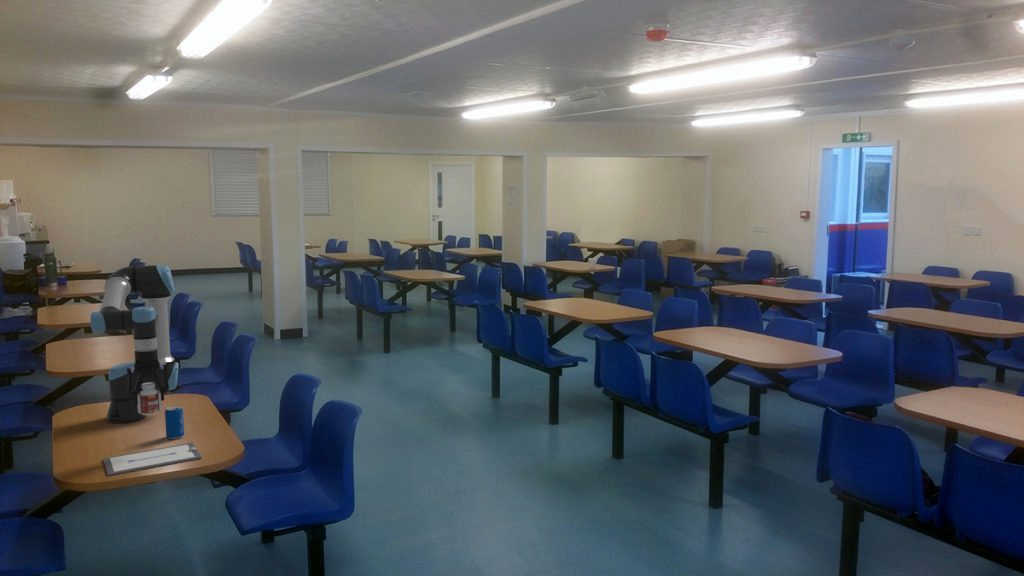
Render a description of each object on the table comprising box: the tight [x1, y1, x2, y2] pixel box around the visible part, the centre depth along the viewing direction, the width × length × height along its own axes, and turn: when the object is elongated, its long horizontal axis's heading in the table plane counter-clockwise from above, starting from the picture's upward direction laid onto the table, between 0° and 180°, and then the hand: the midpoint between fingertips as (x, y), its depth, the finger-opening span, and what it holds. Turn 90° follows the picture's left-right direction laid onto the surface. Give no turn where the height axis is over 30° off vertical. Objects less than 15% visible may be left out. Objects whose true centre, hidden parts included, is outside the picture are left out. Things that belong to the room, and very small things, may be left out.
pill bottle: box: [139, 383, 160, 416], centre depth 270 cm, size 6×6×11 cm
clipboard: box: [102, 442, 203, 477], centre depth 266 cm, size 18×30×1 cm, turn 124°
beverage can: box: [164, 405, 185, 440], centre depth 289 cm, size 6×6×12 cm
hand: (149, 410), depth 271 cm, fingers closed on pill bottle, 6 cm apart
